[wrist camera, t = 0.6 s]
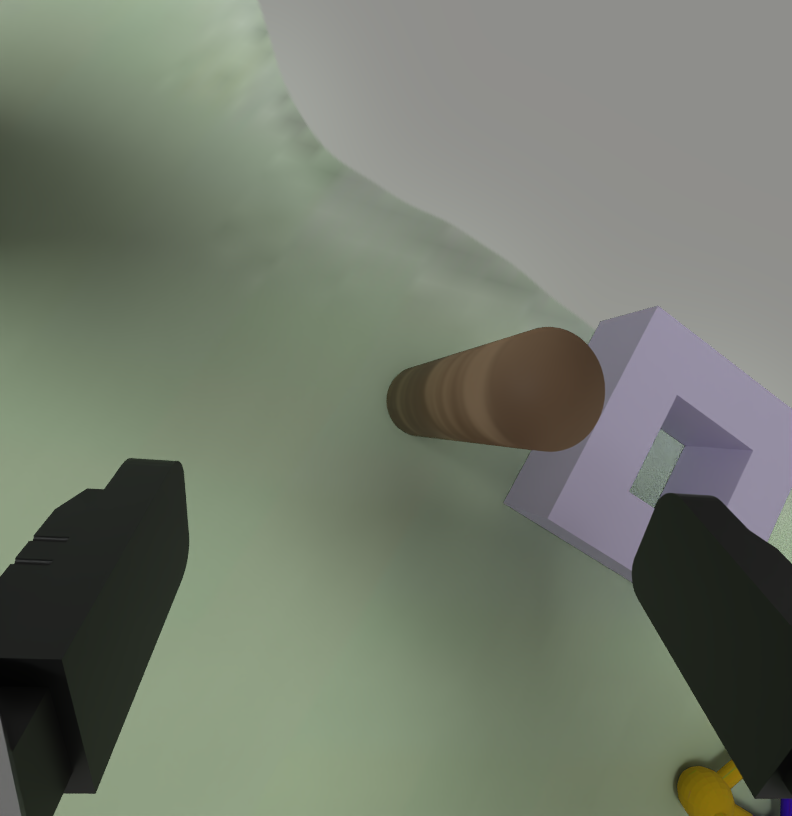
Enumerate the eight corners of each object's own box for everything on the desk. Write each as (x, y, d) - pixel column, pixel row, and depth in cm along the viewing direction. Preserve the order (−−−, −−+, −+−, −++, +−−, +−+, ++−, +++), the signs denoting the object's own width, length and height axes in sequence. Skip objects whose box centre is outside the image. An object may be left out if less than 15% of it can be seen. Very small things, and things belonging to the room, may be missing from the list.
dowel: (373, 413, 30) (471, 410, 16) (409, 353, 31) (531, 302, 17) (431, 449, 31) (570, 474, 17) (465, 390, 31) (624, 369, 18)
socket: (503, 503, 32) (547, 518, 27) (600, 321, 34) (658, 305, 29) (661, 600, 35) (727, 630, 30) (743, 427, 37) (818, 429, 32)
